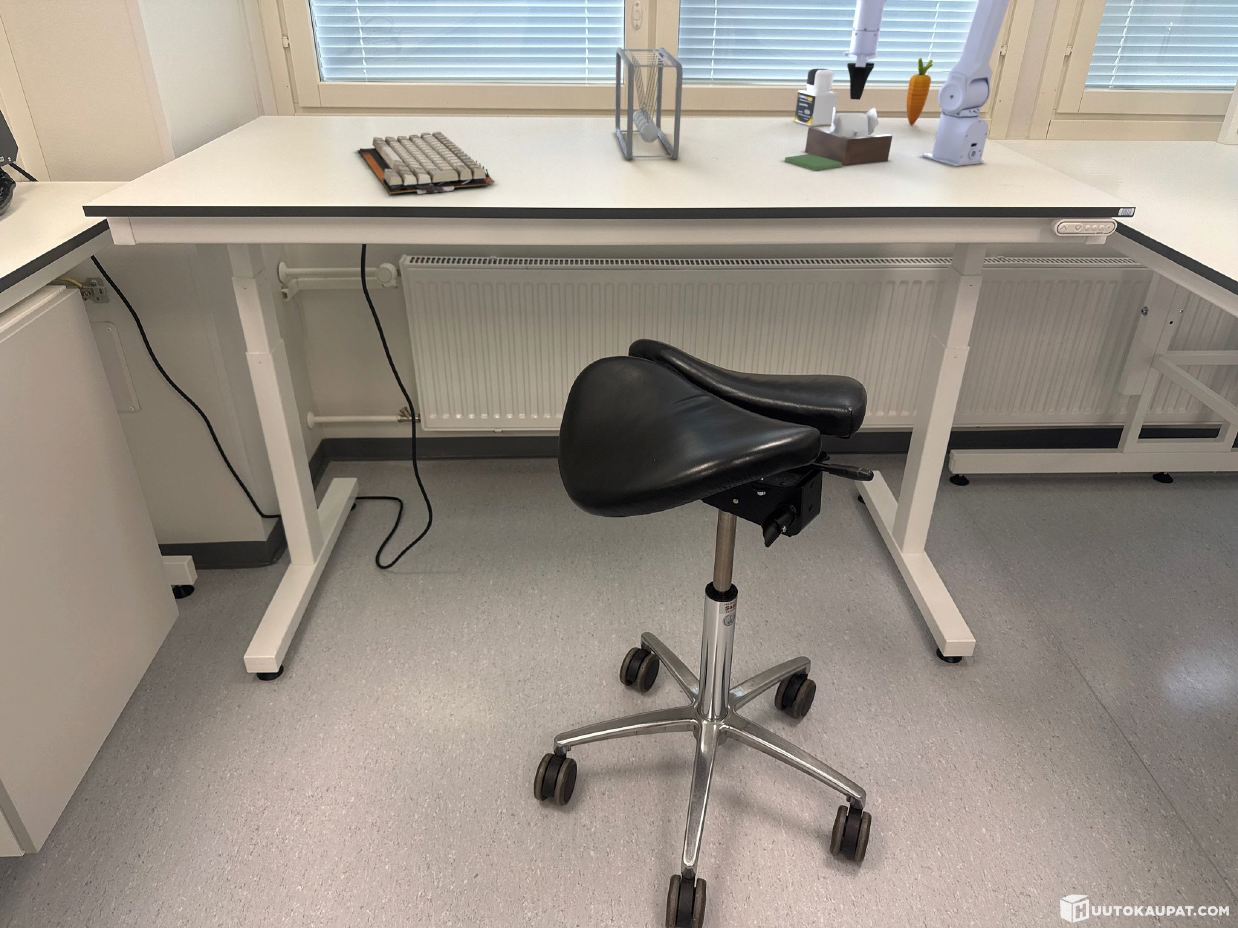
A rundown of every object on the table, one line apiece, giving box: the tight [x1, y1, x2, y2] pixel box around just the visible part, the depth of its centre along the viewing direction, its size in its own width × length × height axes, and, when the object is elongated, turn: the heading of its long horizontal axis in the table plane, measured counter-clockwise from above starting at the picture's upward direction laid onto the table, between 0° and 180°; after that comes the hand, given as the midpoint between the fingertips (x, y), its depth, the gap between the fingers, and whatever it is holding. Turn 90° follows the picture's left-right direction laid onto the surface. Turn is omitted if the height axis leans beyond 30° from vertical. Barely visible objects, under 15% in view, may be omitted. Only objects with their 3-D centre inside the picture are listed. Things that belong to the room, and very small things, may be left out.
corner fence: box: [804, 126, 894, 167], centre depth 170 cm, size 13×11×5 cm
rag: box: [784, 153, 843, 171], centre depth 165 cm, size 9×7×1 cm
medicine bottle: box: [794, 68, 840, 127], centre depth 198 cm, size 7×7×12 cm
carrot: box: [906, 57, 934, 126], centre depth 197 cm, size 5×5×15 cm
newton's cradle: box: [614, 46, 684, 161], centre depth 172 cm, size 30×10×18 cm, turn 5°
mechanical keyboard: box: [356, 131, 495, 195], centre depth 156 cm, size 38×19×3 cm, turn 24°
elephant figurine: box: [829, 106, 879, 138], centre depth 173 cm, size 10×12×9 cm
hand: (855, 99), depth 181 cm, fingers closed
